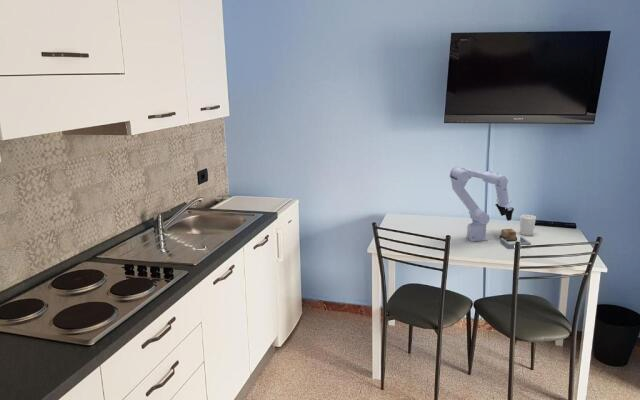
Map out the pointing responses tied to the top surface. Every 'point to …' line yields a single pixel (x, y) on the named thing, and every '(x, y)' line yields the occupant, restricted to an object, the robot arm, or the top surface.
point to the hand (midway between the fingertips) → (506, 217)
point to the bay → (511, 246)
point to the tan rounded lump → (508, 234)
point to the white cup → (527, 224)
